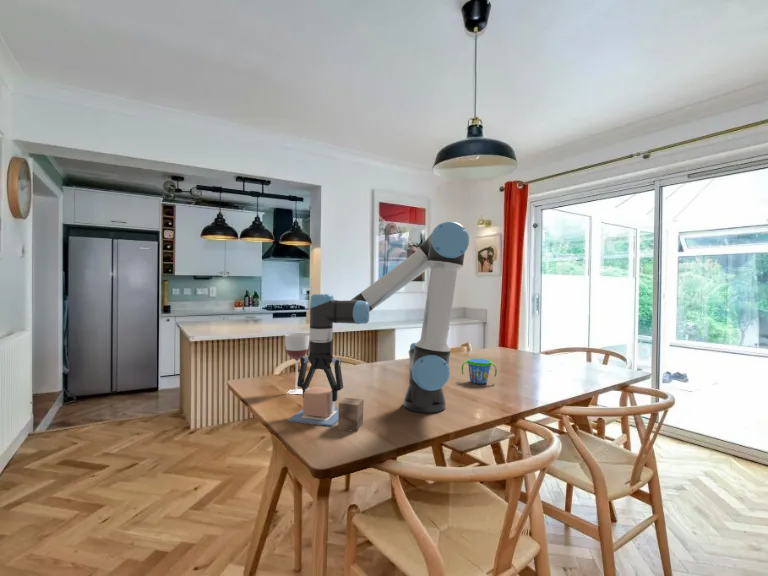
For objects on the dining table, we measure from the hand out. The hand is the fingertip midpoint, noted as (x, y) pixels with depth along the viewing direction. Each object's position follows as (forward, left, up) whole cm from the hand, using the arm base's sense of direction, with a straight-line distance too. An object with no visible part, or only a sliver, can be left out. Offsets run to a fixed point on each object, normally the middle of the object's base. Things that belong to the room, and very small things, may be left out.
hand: (319, 409), depth 127 cm
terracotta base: (0, 0, -1) cm, 1 cm away
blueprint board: (0, 0, -2) cm, 2 cm away
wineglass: (+20, -23, -2) cm, 31 cm away
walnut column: (-13, +6, -2) cm, 15 cm away
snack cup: (-51, -63, -2) cm, 81 cm away
